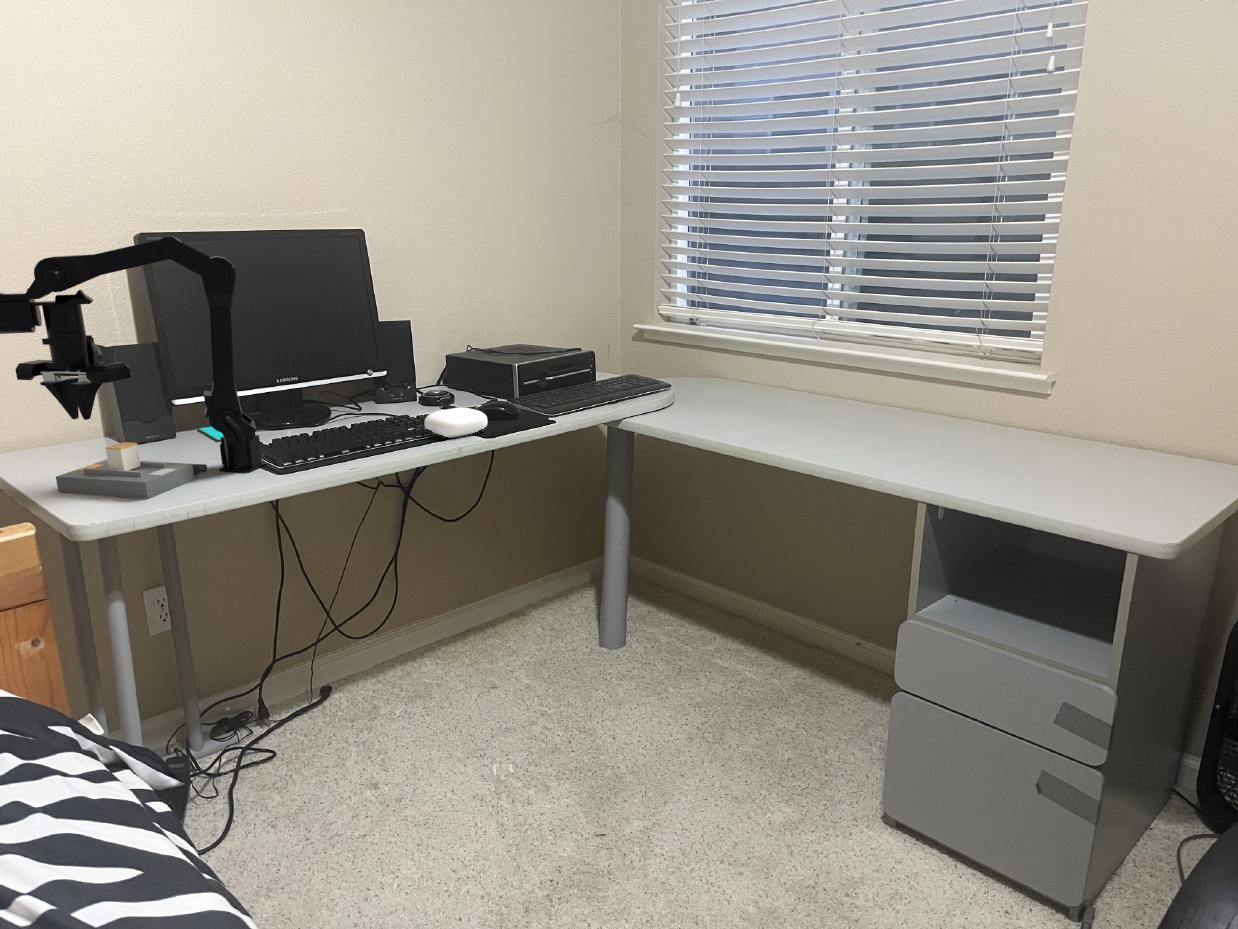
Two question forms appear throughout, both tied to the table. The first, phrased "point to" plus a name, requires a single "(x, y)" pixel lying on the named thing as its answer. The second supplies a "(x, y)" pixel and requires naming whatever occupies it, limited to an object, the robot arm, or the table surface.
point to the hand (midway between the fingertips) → (81, 419)
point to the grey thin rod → (201, 467)
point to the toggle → (123, 456)
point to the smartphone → (211, 433)
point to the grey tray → (125, 479)
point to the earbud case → (456, 422)
